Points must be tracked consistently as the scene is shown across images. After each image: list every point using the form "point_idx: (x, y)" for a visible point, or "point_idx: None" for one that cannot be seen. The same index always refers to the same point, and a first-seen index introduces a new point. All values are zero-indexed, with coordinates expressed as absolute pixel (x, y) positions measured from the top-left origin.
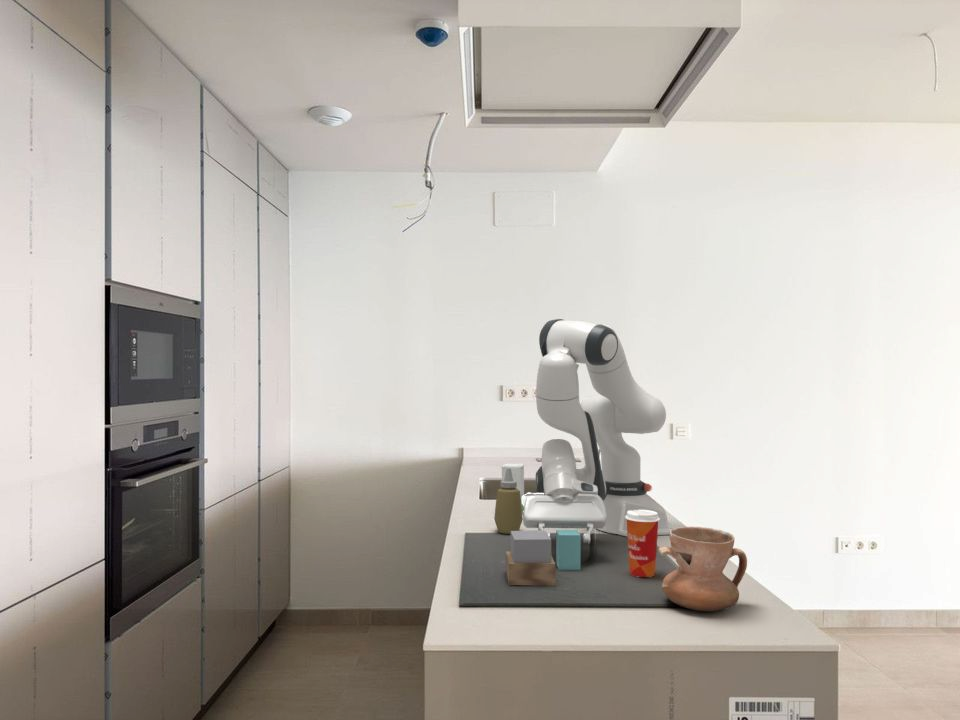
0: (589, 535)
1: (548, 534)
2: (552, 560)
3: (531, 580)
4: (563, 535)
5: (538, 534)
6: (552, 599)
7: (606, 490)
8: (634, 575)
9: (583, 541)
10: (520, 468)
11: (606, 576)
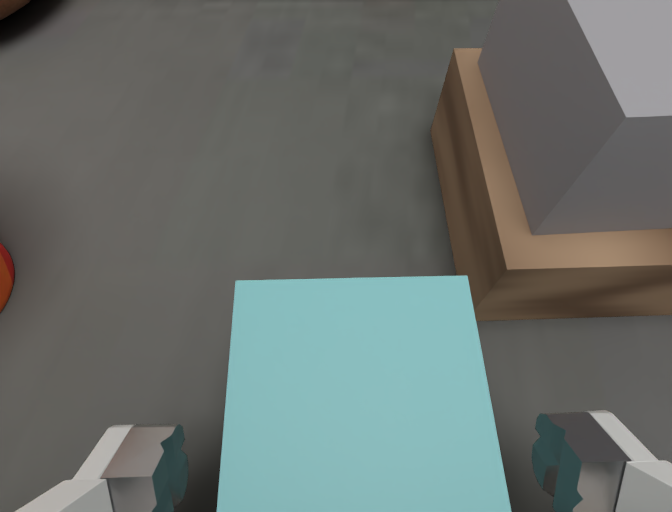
0: (93, 457)
1: (591, 445)
2: (472, 93)
3: None
4: (419, 279)
5: (656, 11)
6: (439, 18)
7: None
8: (6, 251)
9: (182, 482)
10: None
11: (161, 252)
